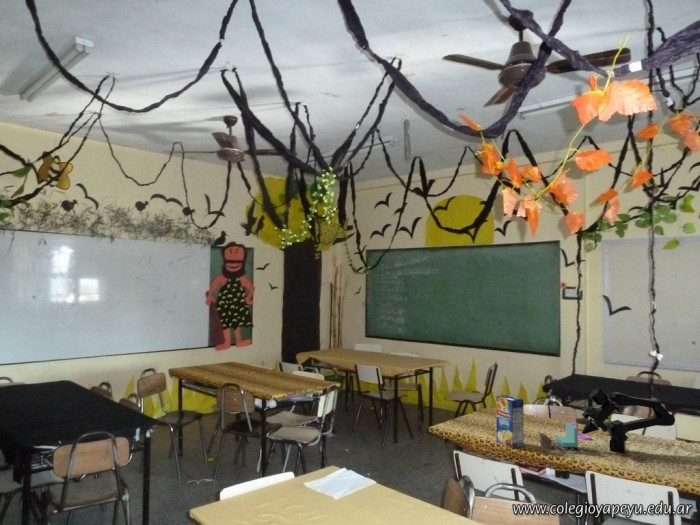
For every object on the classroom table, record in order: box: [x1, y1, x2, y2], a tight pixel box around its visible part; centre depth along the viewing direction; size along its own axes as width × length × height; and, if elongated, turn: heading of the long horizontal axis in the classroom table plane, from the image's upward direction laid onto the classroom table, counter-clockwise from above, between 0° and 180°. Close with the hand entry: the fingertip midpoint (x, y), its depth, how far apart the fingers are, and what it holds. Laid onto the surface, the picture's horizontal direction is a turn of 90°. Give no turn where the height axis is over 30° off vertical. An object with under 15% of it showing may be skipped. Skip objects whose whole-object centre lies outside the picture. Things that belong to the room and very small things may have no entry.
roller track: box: [538, 432, 585, 455], centre depth 259 cm, size 18×13×6 cm
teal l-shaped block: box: [555, 422, 579, 447], centre depth 259 cm, size 7×11×9 cm, turn 177°
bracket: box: [565, 421, 592, 441], centre depth 282 cm, size 13×6×7 cm, turn 31°
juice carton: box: [495, 394, 525, 449], centre depth 266 cm, size 12×8×24 cm, turn 25°
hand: (582, 433), depth 259 cm, fingers closed
